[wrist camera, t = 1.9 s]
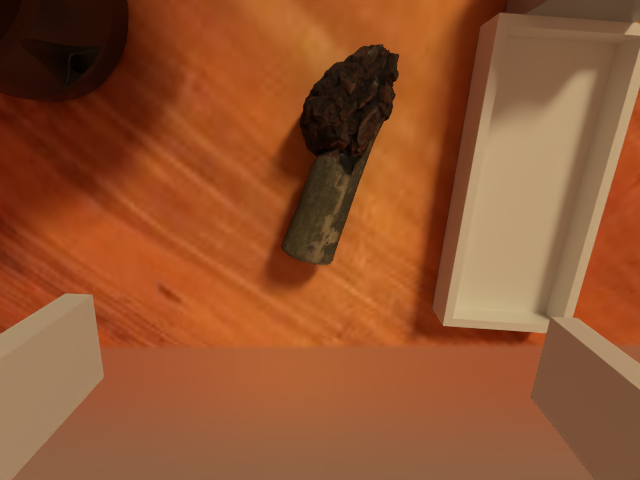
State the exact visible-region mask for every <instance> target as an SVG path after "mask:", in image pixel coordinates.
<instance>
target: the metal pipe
mask: <svg viewBox="0 0 640 480" xmlns="http://www.w3.org/2000/svg"><path fill="white" fill-rule="evenodd" d="M398 58H399V54H394V53H390V52H389V50H388V51H387V50H386V48H384V47H383V45H370V46H363V47H360V48H359V49H358V50H357V51H356V52H355V53H354V54H352V55H350V56H348V57H347V58H346V59H345V60H344V62H338V63H335V64H334V65H333V66H332V67H330V68H329V69H328V70H327V71H326V72H325V73H324V76H323V77H322V78H321V79H320V80H319V81H318V82H317V83H316V84H314V86H313V89H312V90H311V91H310V94H309V96H308V97H307V98H306V100H305V103H304V105H303V113H302V115H301V119H300V127H301V131H302V135H303V137H304V139H305V144H306V146H307V149H309V150H310V151H311V152H312V153H313V154H314V155H316V156H317V157H318V158H317V159H316V160H315V162H314V163H313V165H312V167H311V169H310V172H309V175H308V177H307V180H306V183H305V185H304V188H303V191H302V194H301V197H300V200H299V204H298V207H297V209H296V211H295V214H294V216H293V218H292V220H291V223H290V225H289V228H288V230H287V233H286V235H285V237H284V240H283V242H282V245H281V248H282V250H283V251H284V252H286V253H287V254H288V255H289V256H291V257H293V258H295V259H298V260H300V261H304V262H310V263H313V264H319V265H328V264H330V263H331V262H332V261H333V257H334V254H335V251H336V248H337V245H338V242H339V239H340V236H341V233H342V230H343V228H344V225H345V222H346V219H347V216H348V213H349V210H350V207H351V204H352V202H353V199H354V196H355V193H356V190H357V187H358V184H359V181H360V179H361V176H362V173H363V170H364V168H365V165H366V162H367V159H368V156H369V154H370V151H371V148H372V146H373V143H374V141H375V139H376V136H377V134H378V132H379V130H380V128H381V126H382V124H383V122H384V121H386V120H387V119H389V117H390V114H391V112H392V108H393V103H392V102H393V100H394V98H395V95H396V94H395V93H394V90H393V88H392V87H393V85H394V84H393V82H395V81H396V80H397V78H398V75H399V74H398V71H397V62H398Z"/></svg>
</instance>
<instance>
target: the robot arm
mask: <svg viewBox="0 0 640 480" xmlns="http://www.w3.org/2000/svg"><path fill="white" fill-rule="evenodd" d="M127 31H128V2H127V0H0V92H1V93H4V94H7V95H10V96H14V97H18V98H23V99H30V100H39V101H49V102H57V101H66V100H71V99H75V98H78V97H81V96H83V95H85V94H87V93H89V92H91V91H92V90H94V89H95V88H97V87H98V86H99V85H100V84H101V83H103V82H104V81H105V80H106V79H107V77H108V76H109V75H110V74H111V72H112V71H113V70H114V68H115V66H116V65H117V63H118V61H119V59H120V57H121V54H122V52H123V49H124V46H125V42H126V37H127ZM103 377H104V375H103V368H102V360H101V353H100V346H99V339H98V332H97V325H96V317H95V310H94V303H93V296H92V295H87V294H64V295H62V296H61V297H59V298H58V299H56V300H54V301H53V302H51V303H49V304H48V305H46V306H45V307H43V308H41V309H40V310H38V311H37V312H35V313H33V314H32V315H30V316H29V317H27V318H25V319H24V320H22V321H21V322H19V323H17V324H16V325H14V326H13V327H11V328H9V329H8V330H6V331H5V332H3V333H1V334H0V480H12V478H13V477H14V476H15V475H16V474H17V473H18V472H19V470H21V468H22V467H23V466H24V465H25V464H26V463H27V462H28V461H29V460H30V458H31V457H32V456H33V455H34V454H35V453H36V451H38V449H39V448H40V447H41V446H42V445H43V444H44V443H45V442H46V441H47V439H48V438H49V437H50V436H51V435H52V434H53V433H54V432H55V431H56V430H57V428H58V427H59V426H60V425H61V424H62V423H63V422H64V421H65V420H66V418H67V417H68V416H69V415H70V414H71V413H72V412H73V411H74V409H76V407H77V406H78V405H79V404H80V403H81V402H82V401H83V400H84V398H85V397H86V396H87V395H88V394H89V393H90V392H91V391H92V389H94V387H95V386H96V385H97V384H98V383H99V382H100V381H101V380H102V378H103ZM531 399H532V400H533V401H534V402H535V404H536V405H537V406H538V408H539V409H540V410H541V411H542V413H543V414H544V415H545V417H546V418H547V419H548V420H549V422H550V423H551V424H552V426H553V427H554V428H555V429H556V431H557V432H558V433H559V434H560V436H561V437H562V439H564V441H565V442H566V443H567V445H568V446H569V448H570V449H571V450H572V451H573V453H574V454H575V455H576V457H577V458H578V459H579V460H580V462H581V463H582V464H583V466H584V467H585V468H586V469H587V471H588V472H589V473H590V475H591V476H592V477H593V478H594V480H640V364H639V363H638V362H636V361H635V360H634V359H632V358H631V357H630V356H628V355H627V354H626V353H624V352H623V351H621V350H620V349H619V348H617V347H616V346H615V345H613V344H612V343H611V342H609V341H608V340H607V339H605V338H604V337H602V336H601V335H600V334H598V333H597V332H596V331H594V330H593V329H592V328H590V327H589V326H587V325H586V324H585V323H583V322H582V321H581V320H579V319H578V318H567V317H550V321H549V325H548V329H547V333H546V337H545V341H544V345H543V349H542V354H541V357H540V362H539V366H538V370H537V374H536V378H535V382H534V386H533V390H532V394H531Z"/></svg>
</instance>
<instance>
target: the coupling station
mask: <svg viewBox="0 0 640 480" xmlns="http://www.w3.org/2000/svg"><path fill="white" fill-rule="evenodd" d="M639 20H640V0H507V5H506V10H505V13H499V14H497V15H496V16H494V17H493V18H491V19H490V20H489V21H487V22H486V23H484V24H483V25H481V26H480V32H479V37H478V43H477V49H476V55H475V61H474V67H473V73H472V78H471V84H470V90H469V96H468V102H467V108H466V114H465V119H464V125H463V131H462V137H461V143H460V149H459V155H458V160H457V166H456V172H455V178H454V184H453V190H452V196H451V201H450V207H449V213H448V219H447V225H446V231H445V237H444V242H443V248H442V254H441V260H440V266H439V272H438V278H437V283H436V289H435V295H434V301H433V307H432V309H433V311H434V312H435V314H436V316H437V317H438V319H439V320H440V322H441V324H442V325H443V326H452V327H466V328H481V329H495V330H510V331H524V332H538V333H547V329H548V325H549V321H550V317H567V318H572V317H573V314H574V310H575V307H576V304H577V300H578V297H579V293H580V290H581V286H582V283H583V279H584V276H585V273H586V269H587V266H588V262H589V259H590V255H591V252H592V248H593V245H594V242H595V238H596V235H597V231H598V228H599V224H600V221H601V217H602V214H603V211H604V207H605V204H606V200H607V197H608V193H609V190H610V186H611V183H612V180H613V176H614V173H615V169H616V166H617V162H618V159H619V156H620V152H621V149H622V145H623V142H624V138H625V135H626V131H627V128H628V125H629V121H630V118H631V114H632V111H633V107H634V104H635V100H636V97H637V94H638V90H639V87H640V23H634V22H636V21H639Z"/></svg>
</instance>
